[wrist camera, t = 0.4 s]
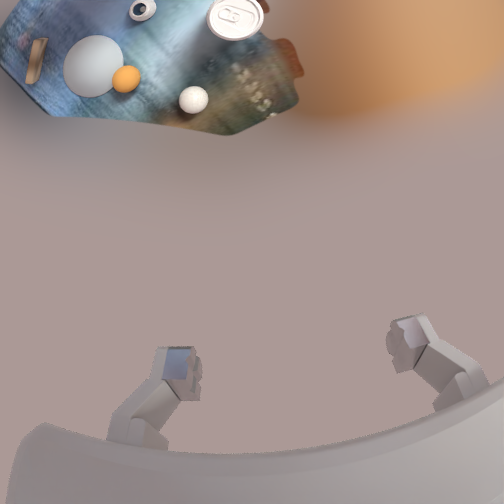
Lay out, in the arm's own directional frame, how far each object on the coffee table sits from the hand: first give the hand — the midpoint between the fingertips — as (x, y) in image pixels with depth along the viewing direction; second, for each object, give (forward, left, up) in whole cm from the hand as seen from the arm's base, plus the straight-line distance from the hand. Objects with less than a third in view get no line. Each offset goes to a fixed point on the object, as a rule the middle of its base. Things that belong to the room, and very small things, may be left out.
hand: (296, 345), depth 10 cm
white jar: (-4, -21, -51) cm, 55 cm away
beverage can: (-8, -5, -50) cm, 51 cm away
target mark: (+10, -27, -50) cm, 58 cm away
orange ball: (+10, -18, -47) cm, 52 cm away
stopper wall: (+10, -41, -50) cm, 66 cm away
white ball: (+10, -4, -47) cm, 49 cm away
